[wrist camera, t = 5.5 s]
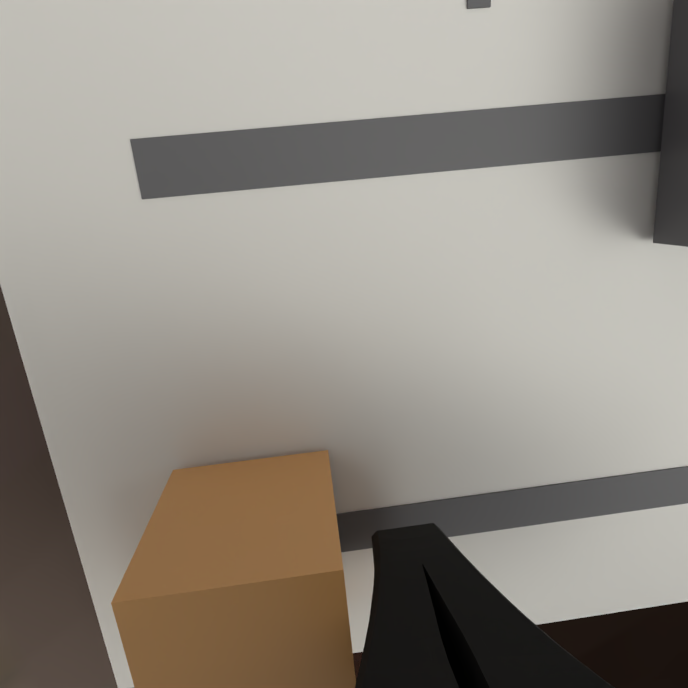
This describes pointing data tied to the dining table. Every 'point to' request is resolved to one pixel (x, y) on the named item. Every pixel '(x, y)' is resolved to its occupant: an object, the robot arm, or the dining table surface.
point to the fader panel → (357, 276)
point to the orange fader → (239, 581)
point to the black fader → (674, 139)
